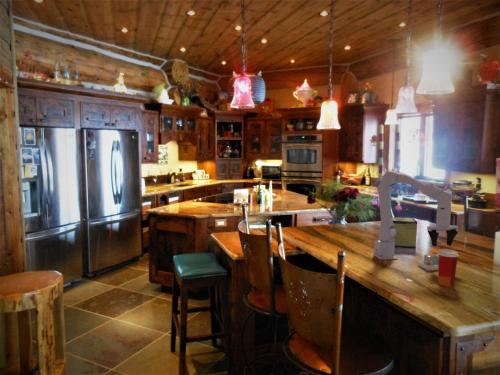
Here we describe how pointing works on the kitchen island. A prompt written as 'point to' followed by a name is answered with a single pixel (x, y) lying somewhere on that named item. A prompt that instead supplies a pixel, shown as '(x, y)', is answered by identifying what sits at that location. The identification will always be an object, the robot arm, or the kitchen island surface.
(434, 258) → the teal block
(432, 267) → the parts tray
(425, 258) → the silver metal cylinder
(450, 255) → the paper cup
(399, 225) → the protein box
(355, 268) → the kitchen island surface
